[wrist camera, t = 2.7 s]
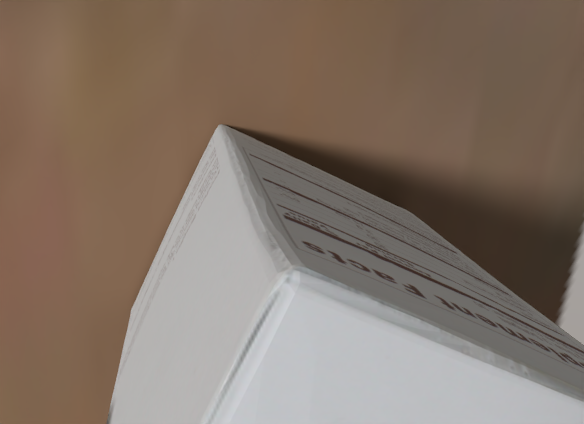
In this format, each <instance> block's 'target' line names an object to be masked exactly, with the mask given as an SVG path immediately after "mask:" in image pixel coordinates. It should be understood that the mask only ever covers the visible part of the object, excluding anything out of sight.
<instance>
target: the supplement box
mask: <svg viewBox="0 0 584 424" xmlns="http://www.w3.org/2000/svg"><path fill="white" fill-rule="evenodd" d="M106 424H584V345H583V344H581V343H580V342H579V341H577V340H576V339H575V338H573V337H572V336H570V335H569V334H568V333H567V332H565V331H564V330H563V329H561V328H560V327H559V326H557V325H556V324H555V323H553V322H552V321H551V320H549V319H548V318H547V317H545V316H544V315H543V314H541V313H540V312H538V311H537V310H536V309H534V308H533V307H532V306H530V305H529V304H528V303H526V302H525V301H524V300H522V299H521V298H520V297H518V296H517V295H516V294H514V293H513V292H512V291H511V290H509V289H508V288H507V287H505V286H504V285H503V284H502V283H500V282H499V281H498V280H496V279H495V278H494V277H493V276H491V275H490V274H489V273H487V272H486V271H485V270H484V269H482V268H481V267H480V266H479V265H477V264H476V263H475V262H474V261H472V260H471V259H470V258H468V257H467V256H466V255H464V254H463V253H462V252H461V251H460V250H459V249H457V248H455V247H454V246H453V245H452V244H450V243H449V242H448V241H447V240H445V239H444V238H443V237H442V236H440V235H439V234H438V233H437V232H435V231H434V230H433V229H432V228H430V227H429V226H428V225H427V224H425V223H424V222H423V221H422V220H420V219H419V218H418V217H416V216H415V215H414V214H412V213H411V212H409V211H407V210H406V209H403V208H401V207H398V206H396V205H394V204H392V203H390V202H388V201H385V200H383V199H381V198H379V197H377V196H375V195H373V194H370V193H368V192H366V191H364V190H362V189H360V188H358V187H356V186H354V185H352V184H350V183H348V182H345V181H343V180H341V179H339V178H337V177H335V176H333V175H331V174H329V173H326V172H324V171H322V170H320V169H318V168H316V167H314V166H312V165H310V164H307V163H305V162H303V161H301V160H299V159H297V158H295V157H293V156H290V155H288V154H286V153H284V152H282V151H280V150H278V149H276V148H273V147H271V146H269V145H267V144H265V143H263V142H261V141H258V140H256V139H254V138H252V137H250V136H248V135H246V134H244V133H241V132H239V131H237V130H235V129H232V128H230V127H228V126H225V125H223V124H220V125H218V127H217V129H216V130H215V132H214V134H213V136H212V138H211V140H210V142H209V144H208V146H207V148H206V150H205V152H204V154H203V156H202V158H201V160H200V162H199V164H198V166H197V168H196V170H195V173H194V175H193V177H192V179H191V181H190V183H189V185H188V187H187V189H186V192H185V194H184V196H183V198H182V200H181V202H180V204H179V206H178V208H177V211H176V213H175V215H174V217H173V219H172V221H171V223H170V225H169V228H168V230H167V232H166V234H165V236H164V239H163V241H162V243H161V245H160V248H159V250H158V252H157V254H156V256H155V259H154V261H153V263H152V265H151V267H150V270H149V272H148V274H147V276H146V278H145V281H144V283H143V285H142V287H141V289H140V292H139V294H138V296H137V299H136V301H135V303H134V305H133V307H132V309H131V316H130V320H129V325H128V329H127V334H126V338H125V342H124V346H123V351H122V356H121V361H120V365H119V370H118V375H117V379H116V383H115V388H114V392H113V396H112V401H111V405H110V410H109V414H108V419H107V423H106Z"/></svg>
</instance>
